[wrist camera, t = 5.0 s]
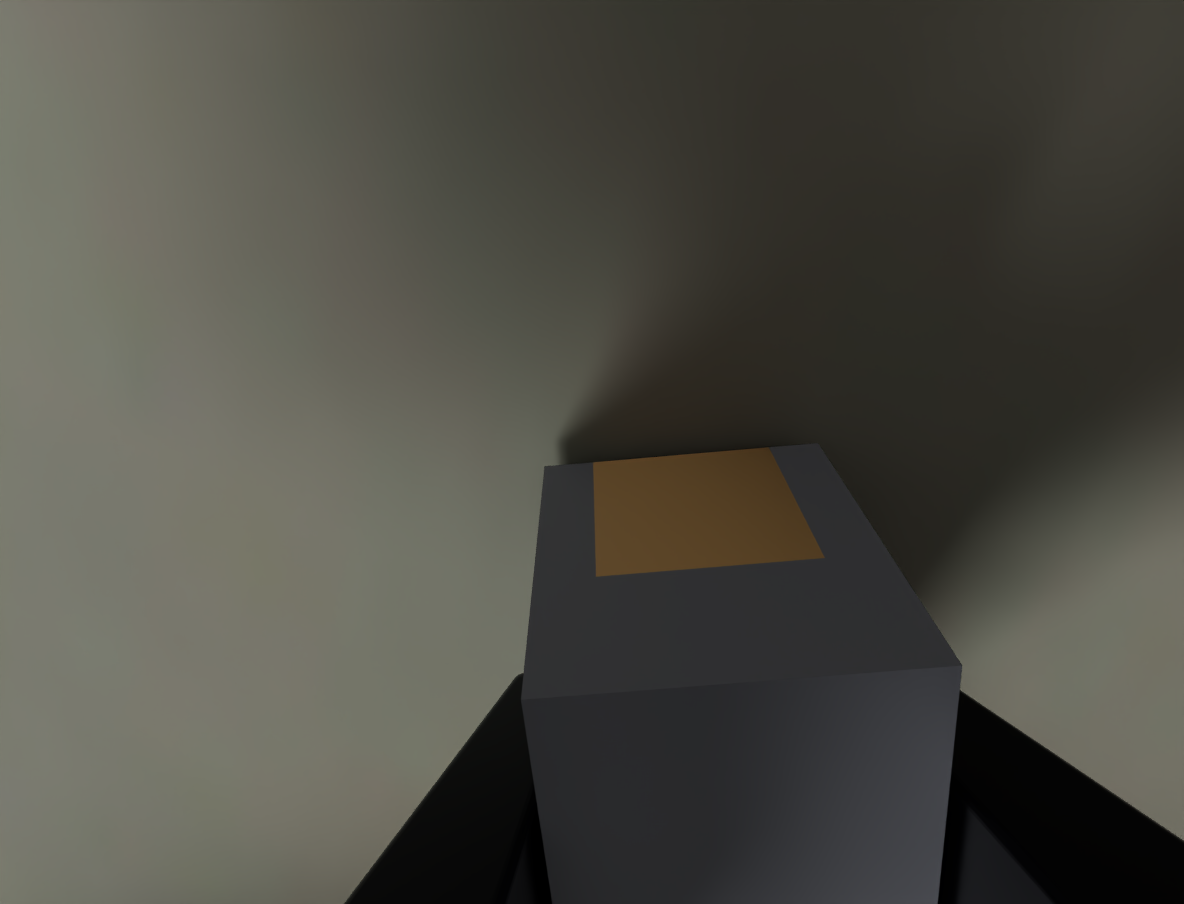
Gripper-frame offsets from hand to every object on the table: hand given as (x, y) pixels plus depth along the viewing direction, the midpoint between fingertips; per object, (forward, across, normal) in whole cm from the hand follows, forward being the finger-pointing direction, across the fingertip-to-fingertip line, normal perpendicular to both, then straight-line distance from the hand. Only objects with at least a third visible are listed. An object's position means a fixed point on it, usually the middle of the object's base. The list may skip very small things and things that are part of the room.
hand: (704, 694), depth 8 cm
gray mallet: (+1, 0, +6) cm, 6 cm away
